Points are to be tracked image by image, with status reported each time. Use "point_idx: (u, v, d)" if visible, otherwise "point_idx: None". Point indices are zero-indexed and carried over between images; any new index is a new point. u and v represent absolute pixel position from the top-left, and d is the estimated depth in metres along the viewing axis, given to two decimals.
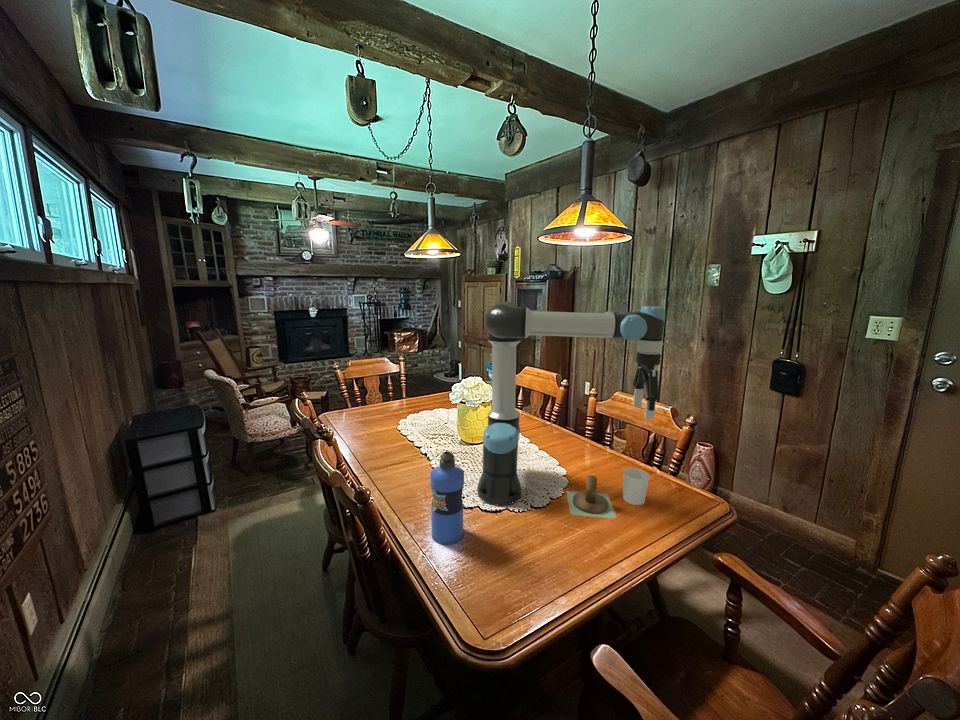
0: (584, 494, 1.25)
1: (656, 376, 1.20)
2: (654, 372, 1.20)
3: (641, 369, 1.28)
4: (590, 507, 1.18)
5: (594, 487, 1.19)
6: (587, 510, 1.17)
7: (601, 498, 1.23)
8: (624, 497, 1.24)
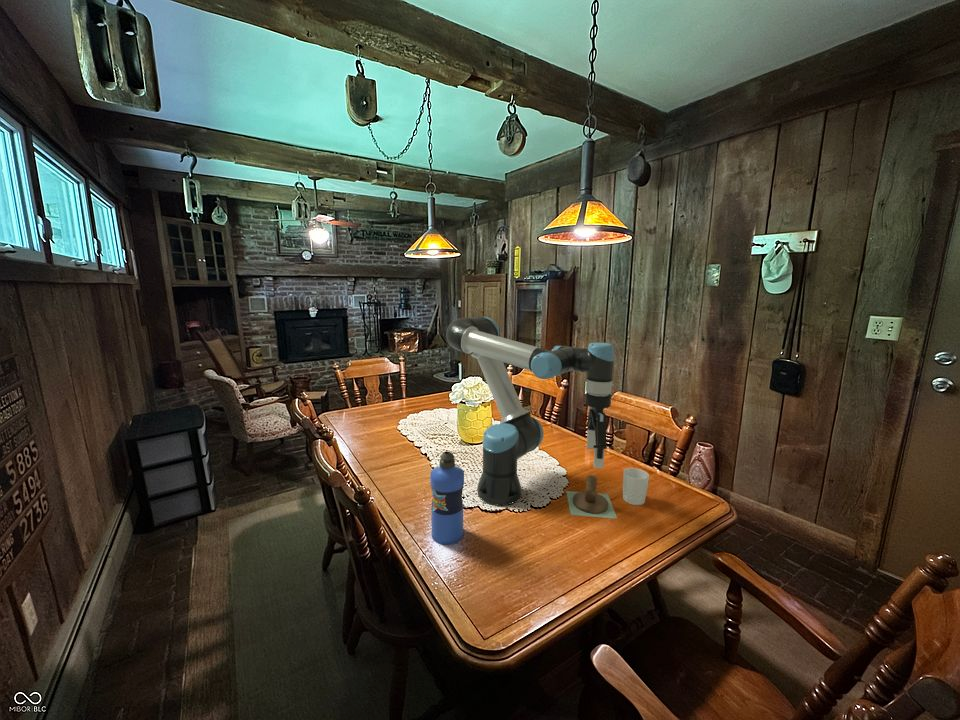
0: (584, 494, 1.25)
1: (604, 421, 1.09)
2: (602, 416, 1.09)
3: (591, 411, 1.17)
4: (590, 507, 1.18)
5: (594, 487, 1.19)
6: (587, 510, 1.17)
7: (600, 498, 1.23)
8: (624, 497, 1.24)
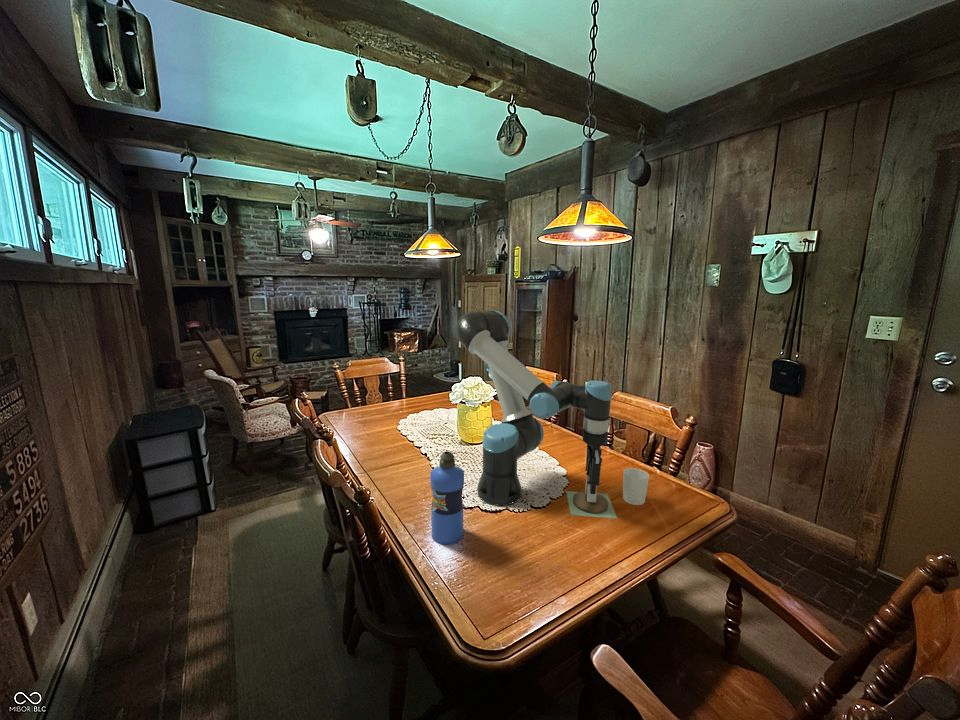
0: (584, 494, 1.25)
1: (599, 464, 1.13)
2: (597, 461, 1.12)
3: (588, 446, 1.19)
4: (590, 506, 1.18)
5: None
6: (587, 510, 1.17)
7: (600, 497, 1.23)
8: (624, 497, 1.24)
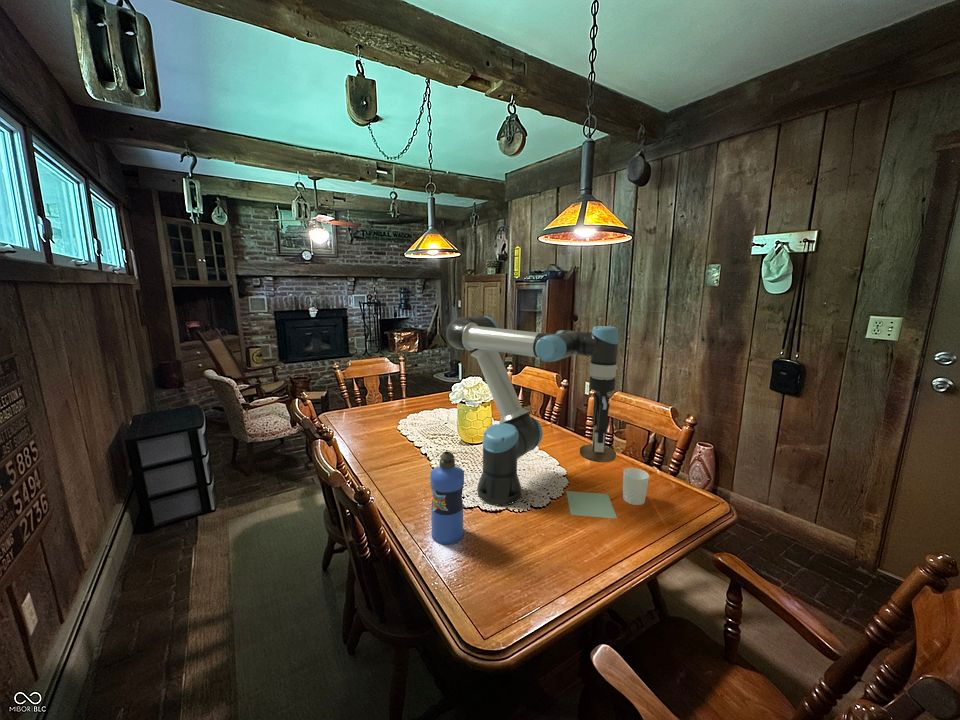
0: (591, 446, 1.22)
1: (607, 410, 1.10)
2: (605, 406, 1.09)
3: (595, 394, 1.16)
4: (598, 456, 1.15)
5: None
6: (594, 459, 1.14)
7: (608, 449, 1.20)
8: (624, 497, 1.24)
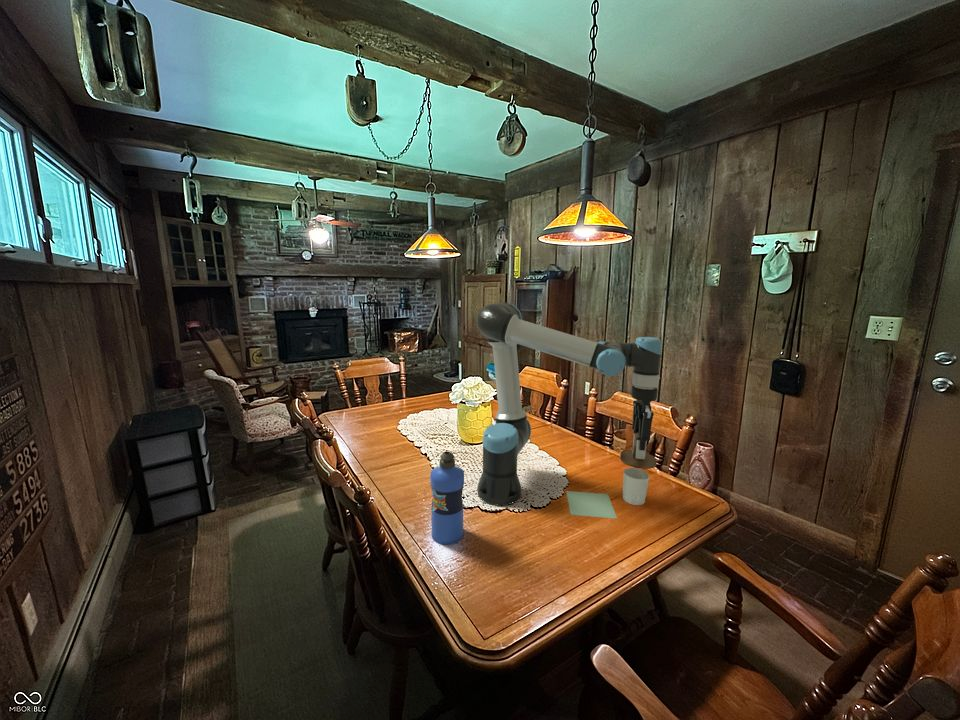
0: (631, 452, 1.26)
1: (651, 418, 1.13)
2: (649, 415, 1.13)
3: (637, 403, 1.20)
4: (640, 463, 1.18)
5: None
6: (637, 465, 1.17)
7: (648, 455, 1.24)
8: (624, 497, 1.24)
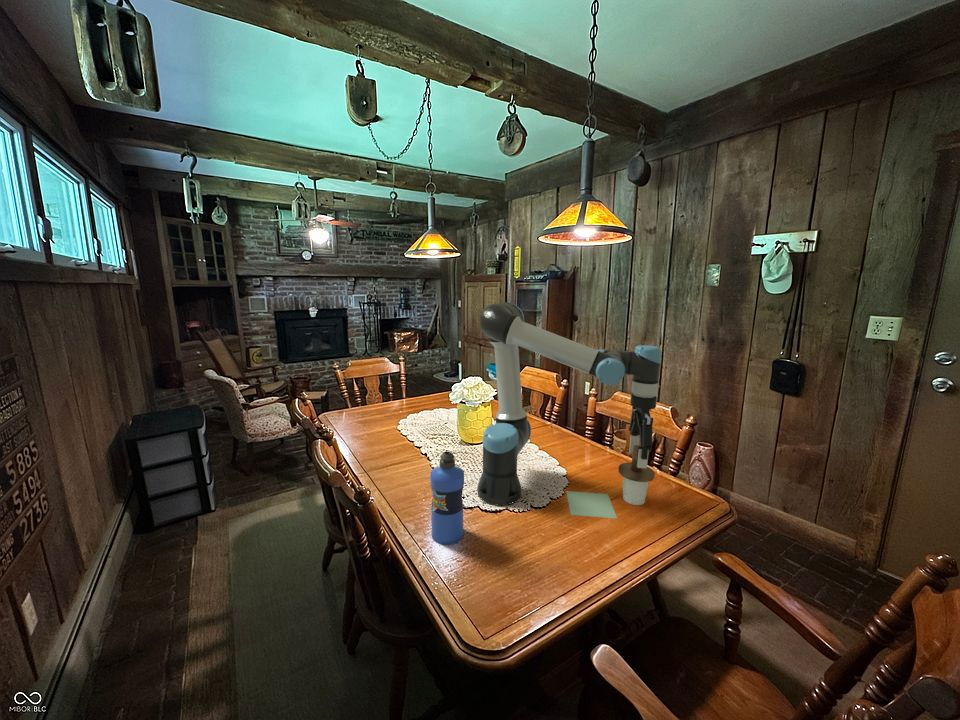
0: (629, 464, 1.26)
1: (651, 424, 1.13)
2: (649, 420, 1.13)
3: (636, 411, 1.20)
4: (638, 475, 1.19)
5: None
6: (635, 478, 1.18)
7: (646, 468, 1.24)
8: (624, 497, 1.24)
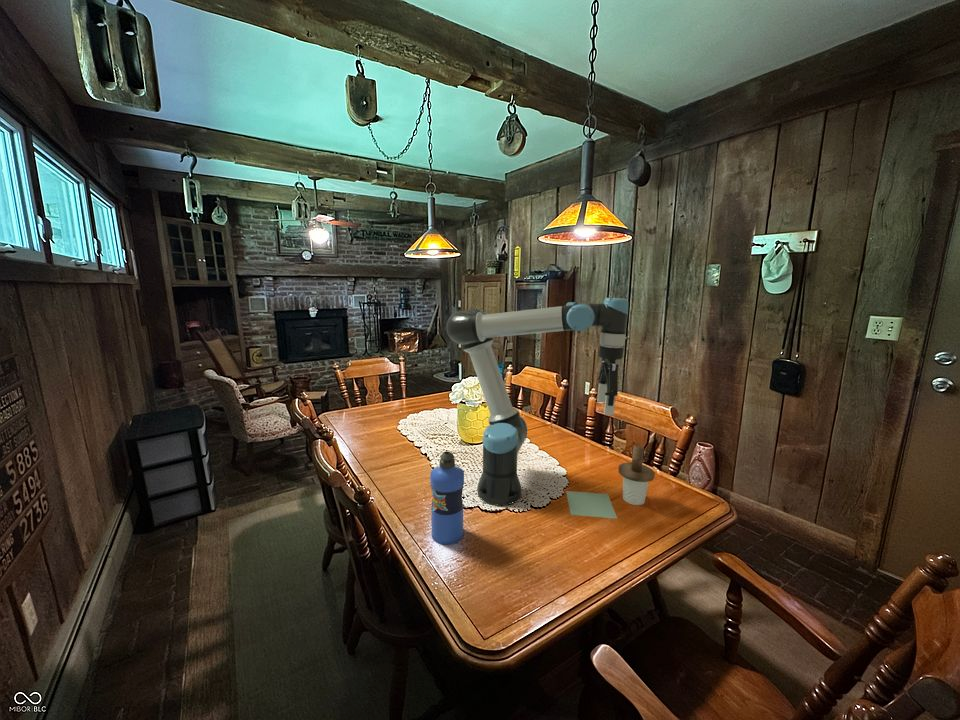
0: (629, 465, 1.26)
1: (616, 370, 1.16)
2: (614, 366, 1.16)
3: (604, 363, 1.24)
4: (638, 475, 1.19)
5: (641, 456, 1.20)
6: (635, 478, 1.18)
7: (646, 468, 1.24)
8: (624, 497, 1.24)
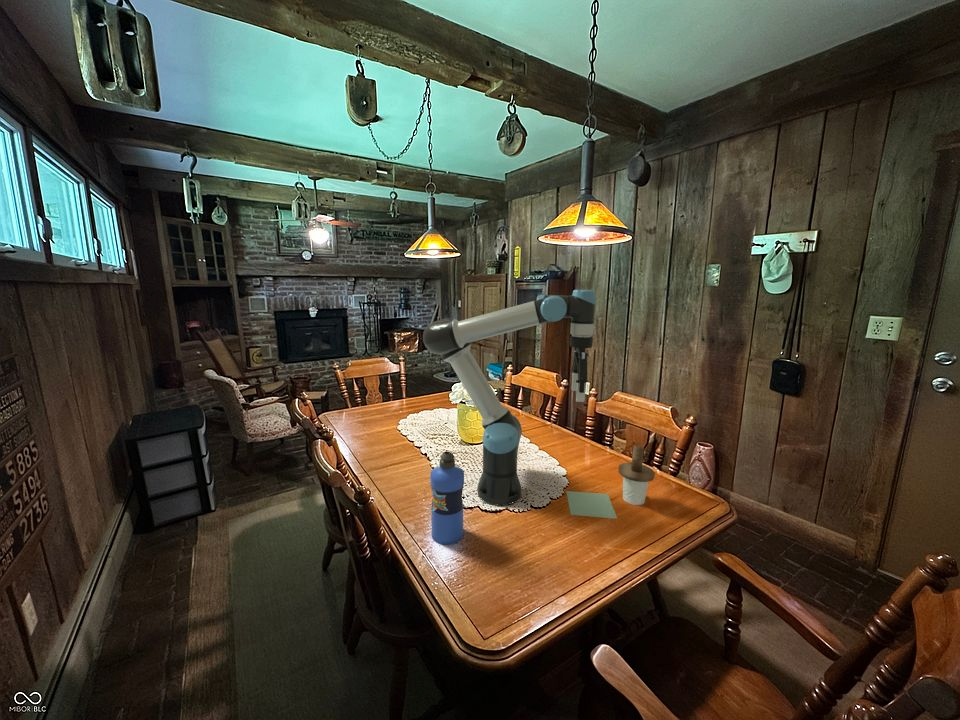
0: (629, 465, 1.26)
1: (585, 358, 1.21)
2: (583, 354, 1.21)
3: (575, 352, 1.29)
4: (638, 475, 1.19)
5: (641, 456, 1.20)
6: (635, 478, 1.18)
7: (646, 468, 1.24)
8: (624, 497, 1.24)
